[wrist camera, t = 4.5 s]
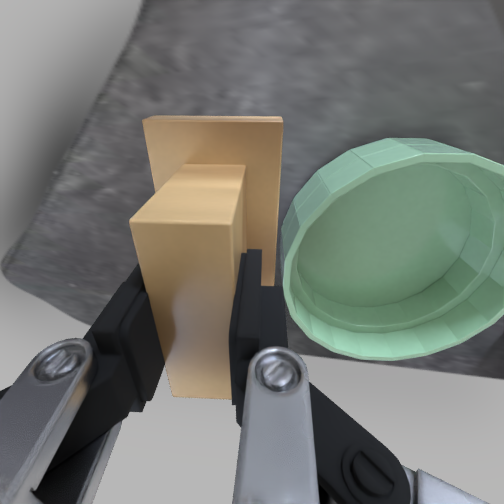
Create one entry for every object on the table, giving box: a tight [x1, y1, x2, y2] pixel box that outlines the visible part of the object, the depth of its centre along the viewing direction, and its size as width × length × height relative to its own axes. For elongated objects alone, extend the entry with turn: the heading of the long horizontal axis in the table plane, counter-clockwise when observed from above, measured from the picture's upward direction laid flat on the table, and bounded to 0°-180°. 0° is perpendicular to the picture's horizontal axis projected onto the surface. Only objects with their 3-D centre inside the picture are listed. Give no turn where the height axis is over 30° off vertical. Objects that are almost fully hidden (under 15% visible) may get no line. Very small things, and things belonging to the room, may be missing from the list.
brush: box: [129, 115, 283, 400], centre depth 11 cm, size 10×5×8 cm, turn 0°
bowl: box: [280, 138, 504, 361], centre depth 22 cm, size 17×17×6 cm
